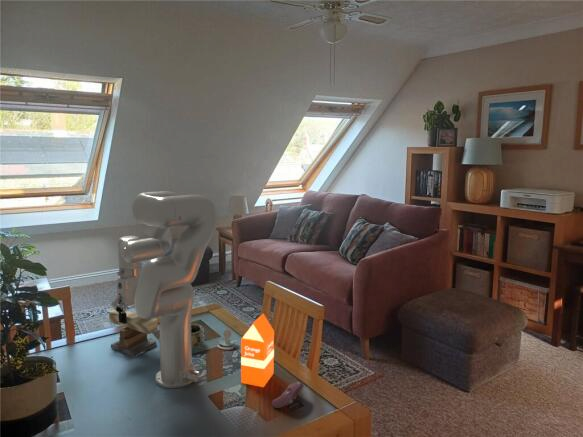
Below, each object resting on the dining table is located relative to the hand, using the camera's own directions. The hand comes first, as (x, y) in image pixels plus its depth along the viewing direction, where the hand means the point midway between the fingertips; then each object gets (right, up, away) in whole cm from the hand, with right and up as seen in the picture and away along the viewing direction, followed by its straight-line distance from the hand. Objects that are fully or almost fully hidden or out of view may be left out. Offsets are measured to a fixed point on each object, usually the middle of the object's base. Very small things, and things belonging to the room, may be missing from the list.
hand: (132, 318), depth 156 cm
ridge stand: (0, -11, +2) cm, 11 cm away
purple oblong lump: (+56, -17, -30) cm, 66 cm away
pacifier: (+33, -11, +4) cm, 35 cm away
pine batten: (0, -3, 0) cm, 3 cm away
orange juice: (+46, -15, -17) cm, 51 cm away
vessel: (+20, -11, +5) cm, 23 cm away
